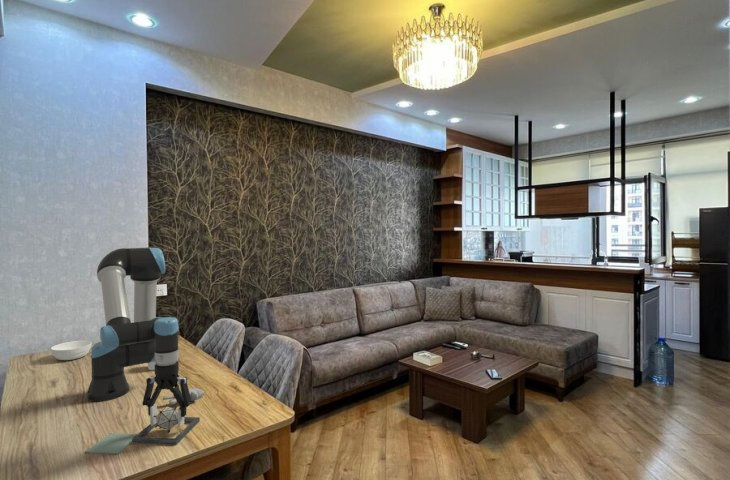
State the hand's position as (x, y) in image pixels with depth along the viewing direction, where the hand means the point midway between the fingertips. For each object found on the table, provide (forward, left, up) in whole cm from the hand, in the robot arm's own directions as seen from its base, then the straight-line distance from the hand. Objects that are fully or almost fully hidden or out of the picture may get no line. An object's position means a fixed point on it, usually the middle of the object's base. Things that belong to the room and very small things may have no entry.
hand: (167, 424), depth 134 cm
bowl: (-99, +71, -3) cm, 122 cm away
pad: (-13, -9, -2) cm, 16 cm away
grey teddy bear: (-6, +23, -3) cm, 24 cm away
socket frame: (0, 0, -2) cm, 2 cm away
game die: (0, 0, -2) cm, 2 cm away
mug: (-41, +59, -3) cm, 72 cm away
